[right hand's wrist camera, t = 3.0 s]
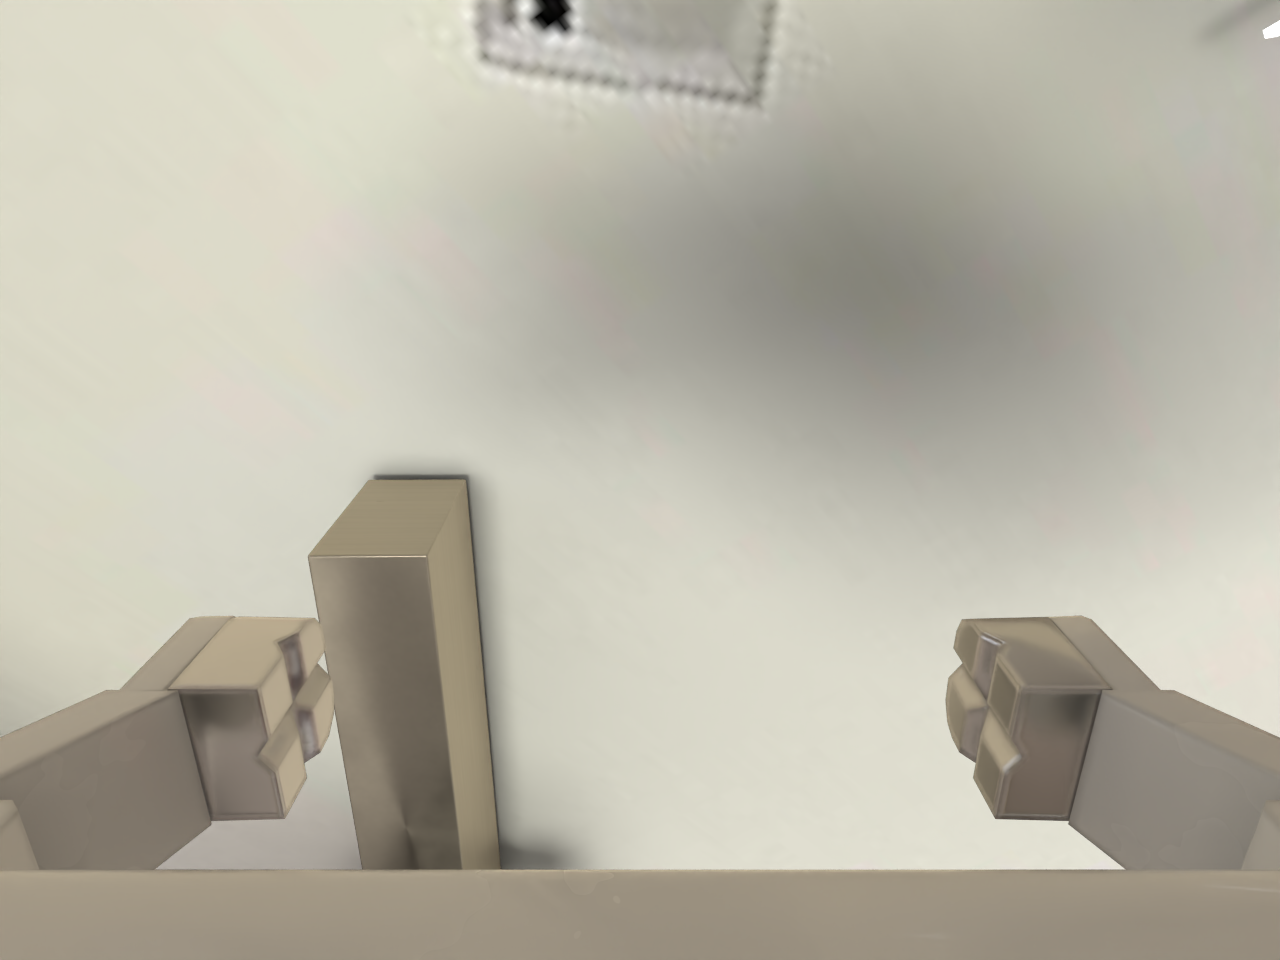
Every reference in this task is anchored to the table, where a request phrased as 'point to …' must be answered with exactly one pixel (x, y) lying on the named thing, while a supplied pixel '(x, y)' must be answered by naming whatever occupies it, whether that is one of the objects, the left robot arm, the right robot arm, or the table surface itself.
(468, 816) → the bar
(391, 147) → the table surface
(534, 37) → the table surface
